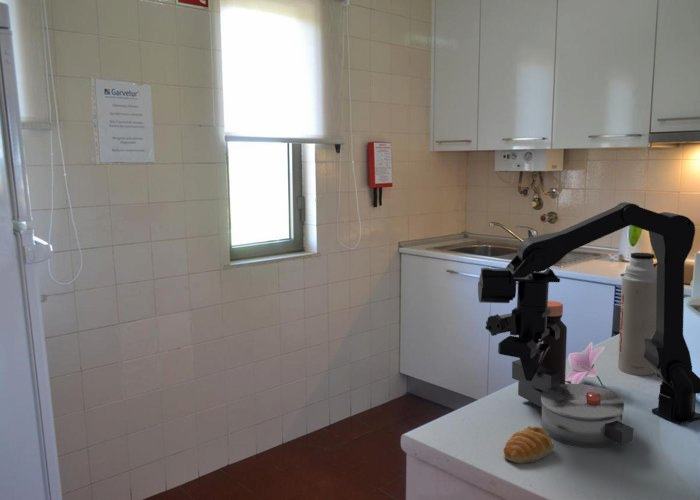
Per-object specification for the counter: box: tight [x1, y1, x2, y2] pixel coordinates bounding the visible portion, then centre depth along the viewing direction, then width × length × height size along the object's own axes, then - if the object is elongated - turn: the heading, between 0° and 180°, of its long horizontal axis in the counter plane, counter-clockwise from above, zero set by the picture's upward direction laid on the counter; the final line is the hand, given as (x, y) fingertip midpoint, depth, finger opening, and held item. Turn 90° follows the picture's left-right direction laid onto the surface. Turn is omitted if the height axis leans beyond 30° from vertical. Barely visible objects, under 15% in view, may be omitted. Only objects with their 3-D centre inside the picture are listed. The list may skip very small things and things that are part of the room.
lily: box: [565, 341, 606, 385], centre depth 131 cm, size 12×12×10 cm
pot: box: [517, 380, 635, 449], centre depth 113 cm, size 14×26×5 cm, turn 24°
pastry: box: [503, 425, 555, 465], centre depth 103 cm, size 9×7×4 cm
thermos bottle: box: [617, 252, 657, 376], centre depth 138 cm, size 8×8×28 cm
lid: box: [511, 359, 625, 421], centre depth 114 cm, size 14×23×4 cm, turn 31°
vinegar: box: [540, 300, 568, 384], centre depth 127 cm, size 7×7×20 cm
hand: (528, 380), depth 117 cm, fingers closed
